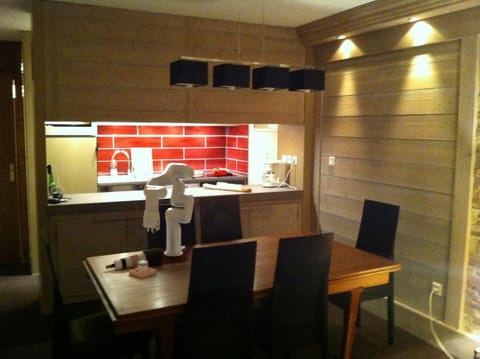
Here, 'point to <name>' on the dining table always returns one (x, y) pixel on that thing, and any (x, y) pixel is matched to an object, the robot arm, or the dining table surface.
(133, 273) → the dish
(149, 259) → the striped tapered cylinder
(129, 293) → the dining table surface
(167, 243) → the robot arm
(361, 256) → the dining table surface
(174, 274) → the dining table surface
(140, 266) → the block
